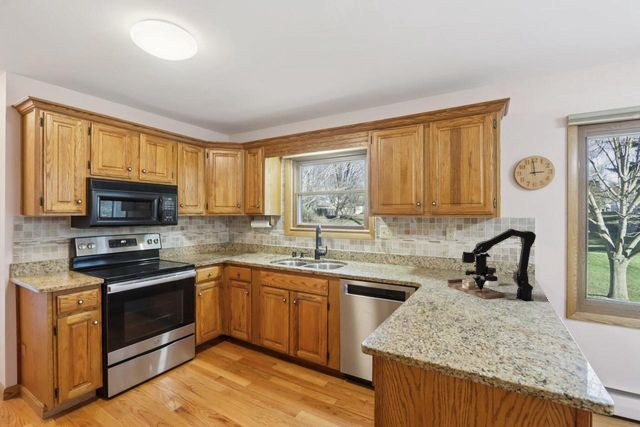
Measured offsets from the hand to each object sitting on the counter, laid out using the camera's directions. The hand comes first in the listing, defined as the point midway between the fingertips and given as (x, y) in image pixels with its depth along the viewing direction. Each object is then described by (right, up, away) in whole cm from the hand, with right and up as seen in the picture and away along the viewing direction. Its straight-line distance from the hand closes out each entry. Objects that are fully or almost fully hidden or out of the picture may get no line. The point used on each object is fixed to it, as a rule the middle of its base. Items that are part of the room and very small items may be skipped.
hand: (480, 289), depth 179 cm
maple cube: (-4, -1, +7) cm, 8 cm away
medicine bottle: (+21, -4, +27) cm, 34 cm away
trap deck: (+1, -3, +9) cm, 10 cm away
